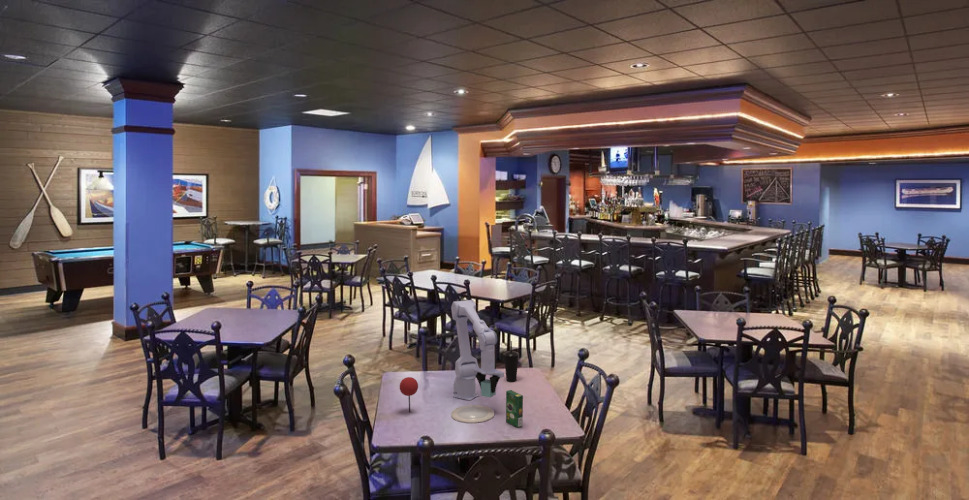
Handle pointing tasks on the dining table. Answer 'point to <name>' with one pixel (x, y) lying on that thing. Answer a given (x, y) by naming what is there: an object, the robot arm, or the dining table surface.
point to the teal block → (486, 389)
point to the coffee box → (514, 408)
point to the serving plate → (472, 414)
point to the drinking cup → (511, 364)
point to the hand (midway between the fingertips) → (488, 391)
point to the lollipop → (408, 387)
